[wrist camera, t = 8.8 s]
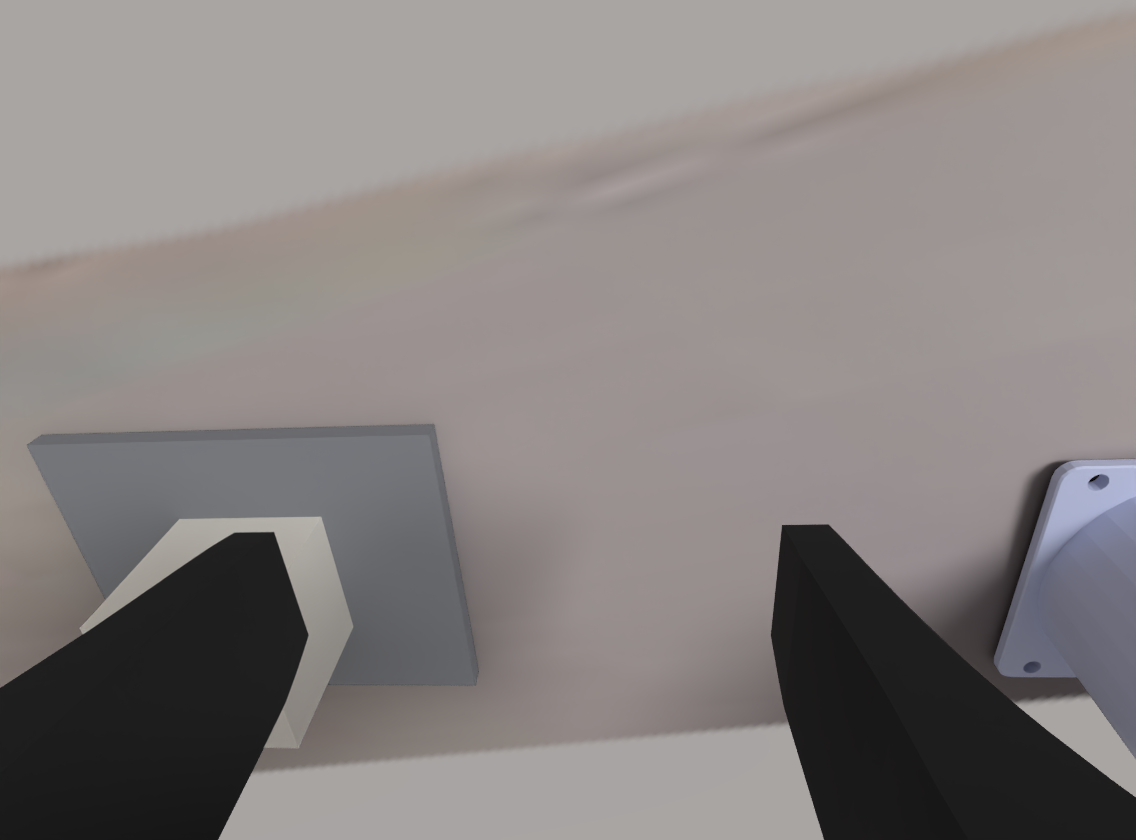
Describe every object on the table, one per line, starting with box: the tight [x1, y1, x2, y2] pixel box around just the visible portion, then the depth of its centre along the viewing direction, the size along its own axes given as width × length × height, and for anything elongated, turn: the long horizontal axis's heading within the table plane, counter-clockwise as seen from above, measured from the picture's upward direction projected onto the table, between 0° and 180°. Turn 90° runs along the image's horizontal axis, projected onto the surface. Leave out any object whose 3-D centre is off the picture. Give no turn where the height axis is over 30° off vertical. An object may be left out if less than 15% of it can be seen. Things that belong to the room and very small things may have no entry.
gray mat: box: [27, 424, 479, 686], centre depth 22 cm, size 12×10×1 cm
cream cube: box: [79, 517, 353, 748], centre depth 20 cm, size 4×4×4 cm
